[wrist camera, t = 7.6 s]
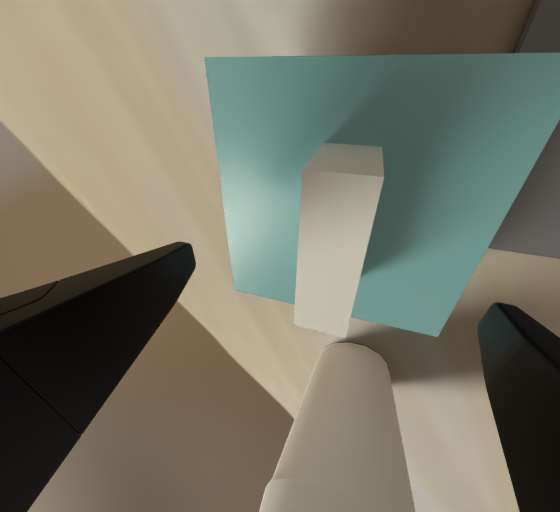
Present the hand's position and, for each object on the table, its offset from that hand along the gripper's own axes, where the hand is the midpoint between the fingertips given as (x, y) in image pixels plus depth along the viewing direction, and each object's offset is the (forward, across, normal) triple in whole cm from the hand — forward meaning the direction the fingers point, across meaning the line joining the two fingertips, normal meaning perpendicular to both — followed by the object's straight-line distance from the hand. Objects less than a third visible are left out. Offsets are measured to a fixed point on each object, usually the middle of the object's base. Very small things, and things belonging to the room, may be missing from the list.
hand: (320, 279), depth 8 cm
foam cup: (+9, -3, +17) cm, 20 cm away
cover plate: (+5, 0, 0) cm, 5 cm away
